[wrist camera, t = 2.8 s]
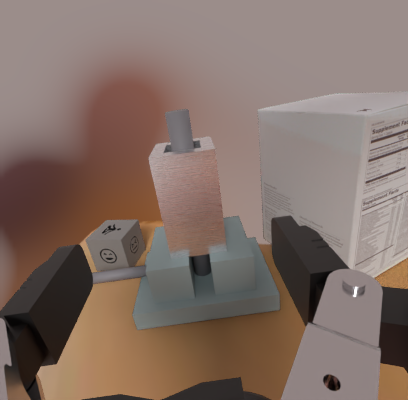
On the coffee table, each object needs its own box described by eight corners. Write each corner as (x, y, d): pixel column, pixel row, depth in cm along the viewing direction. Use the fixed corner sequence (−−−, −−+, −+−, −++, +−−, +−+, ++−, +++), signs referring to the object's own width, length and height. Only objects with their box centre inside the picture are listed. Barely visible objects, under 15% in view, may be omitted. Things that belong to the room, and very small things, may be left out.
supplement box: (424, 250, 30) (467, 87, 23) (345, 298, 25) (368, 113, 18) (328, 210, 41) (336, 92, 34) (260, 238, 37) (254, 108, 29)
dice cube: (115, 248, 39) (106, 220, 37) (145, 249, 38) (138, 219, 36) (97, 271, 35) (85, 239, 33) (130, 272, 34) (120, 240, 32)
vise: (255, 250, 34) (246, 96, 27) (280, 309, 25) (276, 103, 17) (98, 272, 34) (43, 126, 27) (66, 340, 25) (-32, 148, 18)
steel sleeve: (220, 223, 30) (210, 136, 26) (227, 251, 25) (215, 148, 21) (174, 230, 30) (156, 144, 26) (171, 259, 25) (148, 158, 21)
